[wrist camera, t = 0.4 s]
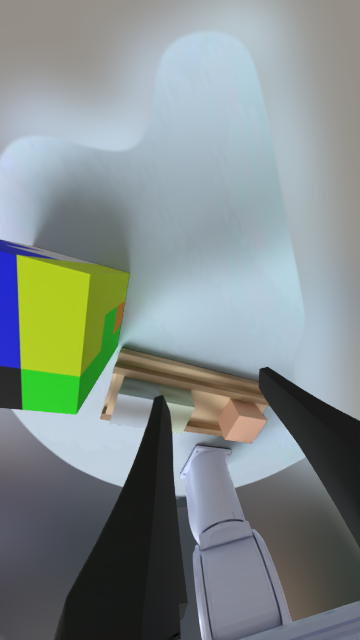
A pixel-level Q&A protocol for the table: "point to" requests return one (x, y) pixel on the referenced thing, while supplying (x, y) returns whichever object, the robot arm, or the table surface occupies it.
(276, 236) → the table surface
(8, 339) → the puzzle toy
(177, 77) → the table surface
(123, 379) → the oak channel board
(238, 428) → the peach pink cube
